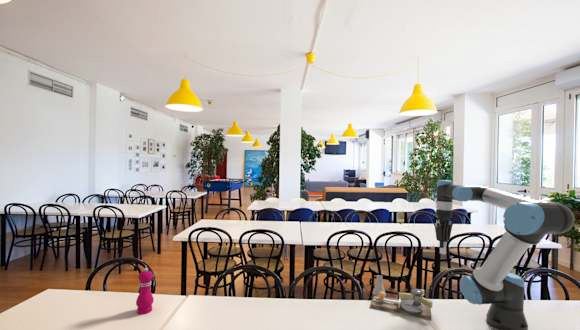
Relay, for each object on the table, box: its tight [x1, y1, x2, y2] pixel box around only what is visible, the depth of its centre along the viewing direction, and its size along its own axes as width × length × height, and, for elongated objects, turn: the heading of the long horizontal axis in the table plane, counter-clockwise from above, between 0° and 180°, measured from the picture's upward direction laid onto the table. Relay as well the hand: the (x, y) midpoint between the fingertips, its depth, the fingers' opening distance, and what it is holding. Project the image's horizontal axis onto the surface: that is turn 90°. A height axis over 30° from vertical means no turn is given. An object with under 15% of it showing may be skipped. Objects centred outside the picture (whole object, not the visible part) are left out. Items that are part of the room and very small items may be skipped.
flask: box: [371, 274, 387, 297], centre depth 161 cm, size 7×7×10 cm
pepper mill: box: [135, 267, 154, 315], centre depth 137 cm, size 7×7×20 cm
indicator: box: [378, 291, 402, 308], centre depth 148 cm, size 11×8×5 cm
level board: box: [370, 294, 432, 321], centre depth 146 cm, size 27×12×2 cm, turn 67°
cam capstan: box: [398, 288, 433, 314], centre depth 142 cm, size 16×14×8 cm
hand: (442, 253), depth 157 cm, fingers closed
